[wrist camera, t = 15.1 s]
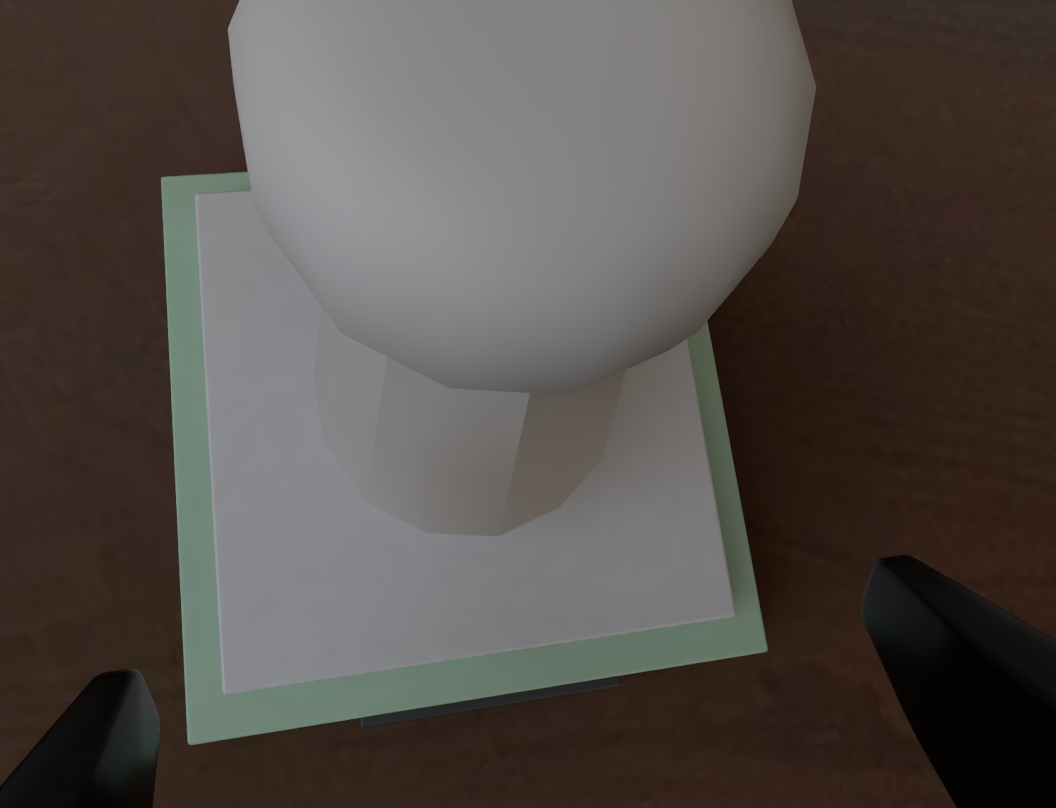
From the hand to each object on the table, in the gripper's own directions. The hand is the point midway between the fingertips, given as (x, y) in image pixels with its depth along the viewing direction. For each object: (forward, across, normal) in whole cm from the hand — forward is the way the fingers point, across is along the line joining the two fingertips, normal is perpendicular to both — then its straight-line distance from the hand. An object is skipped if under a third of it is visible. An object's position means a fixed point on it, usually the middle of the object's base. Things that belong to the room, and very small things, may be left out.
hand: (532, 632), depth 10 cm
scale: (+11, 0, +4) cm, 11 cm away
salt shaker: (+8, 0, +2) cm, 9 cm away
